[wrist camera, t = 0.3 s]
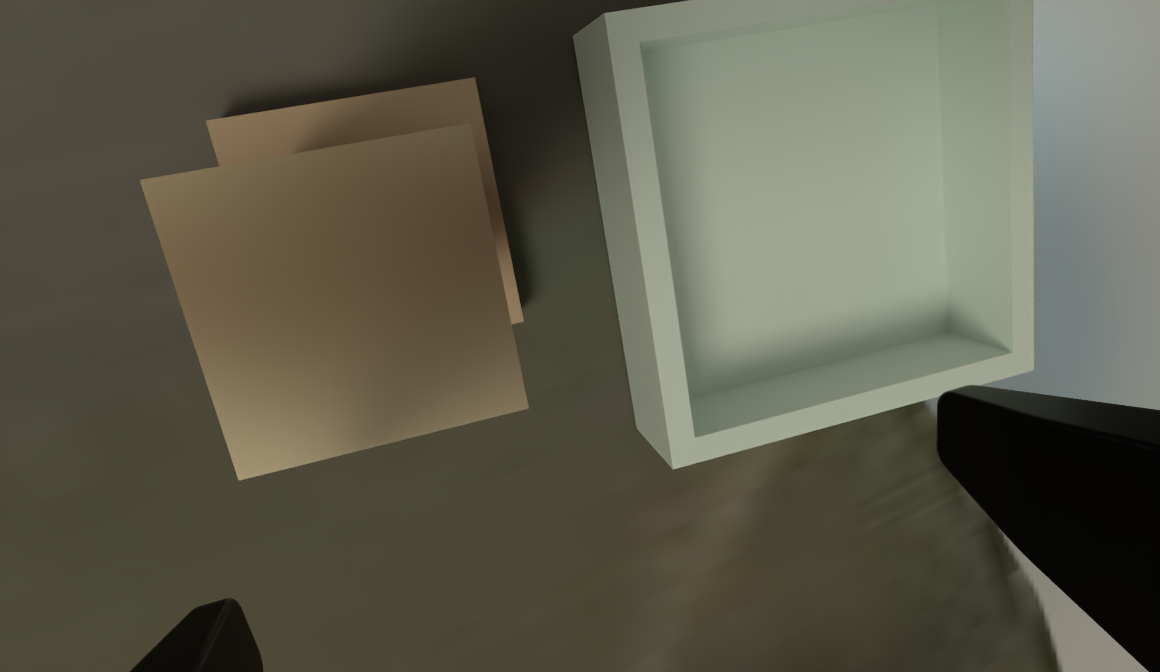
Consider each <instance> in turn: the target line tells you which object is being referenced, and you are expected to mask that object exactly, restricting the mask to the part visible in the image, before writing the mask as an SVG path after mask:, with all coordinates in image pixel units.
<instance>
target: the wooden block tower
mask: <svg viewBox="0 0 1160 672" xmlns="http://www.w3.org/2000/svg"><path fill="white" fill-rule="evenodd" d="M206 123H207V126H208V130H209V133H210V136H211V140H212V143H213V146H214V150H215V153H216V156H217V160H218V163H219V167H213V168H207V169H201V170H196V171H190V172H184V173H178V174H172V175H167V176H161V177H155V178H149V179H143V180H140V183H141V186H142V189H143V192H144V195H145V198H146V201H147V204H148V207H149V210H150V213H151V216H152V219H153V222H154V225H155V228H156V231H157V234H158V237H159V240H160V243H161V246H162V249H163V252H164V255H165V258H166V261H167V264H168V267H169V270H170V273H171V277H172V280H173V283H174V286H175V289H176V292H177V295H178V298H179V301H180V304H181V307H182V310H183V313H184V316H185V319H186V322H187V325H188V328H189V331H190V334H191V337H192V340H193V343H194V346H195V349H196V352H197V355H198V358H199V361H200V364H201V367H202V371H203V374H204V377H205V380H206V383H207V386H208V389H209V392H210V395H211V398H212V401H213V404H214V407H215V410H216V413H217V416H218V419H219V422H220V425H221V428H222V431H223V434H224V437H225V440H226V443H227V446H228V449H229V452H230V455H231V458H232V461H233V464H234V468H235V471H236V474H237V477H238V480H243V479H247V478H251V477H255V476H259V475H263V474H267V473H271V472H275V471H279V470H283V469H287V468H291V467H296V466H300V465H304V464H308V463H312V462H316V461H320V460H324V459H328V458H332V457H336V456H340V455H344V454H348V453H352V452H356V451H360V450H364V449H368V448H372V447H376V446H380V445H384V444H388V443H392V442H396V441H400V440H404V439H408V438H412V437H416V436H420V435H424V434H428V433H432V432H436V431H440V430H444V429H448V428H452V427H456V426H460V425H464V424H468V423H472V422H476V421H480V420H484V419H488V418H492V417H497V416H501V415H505V414H509V413H513V412H517V411H521V410H525V409H529V407H528V402H527V397H526V392H525V387H524V383H523V378H522V373H521V368H520V363H519V358H518V353H517V348H516V343H515V339H514V334H513V329H512V324H515V323H519V322H524V320H523V315H522V310H521V305H520V300H519V295H518V290H517V285H516V280H515V275H514V270H513V265H512V260H511V255H510V250H509V245H508V240H507V235H506V230H505V225H504V220H503V215H502V210H501V205H500V200H499V195H498V190H497V185H496V180H495V175H494V170H493V165H492V160H491V155H490V150H489V145H488V140H487V135H486V130H485V125H484V120H483V115H482V110H481V105H480V100H479V95H478V90H477V85H476V80H475V77H474V78H468V79H462V80H455V81H449V82H443V83H437V84H431V85H424V86H418V87H412V88H406V89H400V90H393V91H387V92H381V93H375V94H369V95H362V96H356V97H350V98H344V99H338V100H331V101H325V102H319V103H313V104H307V105H300V106H294V107H288V108H282V109H276V110H270V111H263V112H257V113H251V114H245V115H239V116H232V117H226V118H220V119H214V120H208V121H206Z"/></svg>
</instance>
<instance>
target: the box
mask: <svg viewBox="0 0 1160 672" xmlns="http://www.w3.org/2000/svg"><path fill="white" fill-rule="evenodd" d="M573 41H574V47H575V53H576V59H577V66H578V72H579V78H580V84H581V90H582V96H583V102H584V109H585V115H586V121H587V127H588V133H589V139H590V145H591V151H592V158H593V164H594V170H595V176H596V182H597V188H598V194H599V201H600V207H601V213H602V219H603V225H604V231H605V237H606V244H607V250H608V256H609V262H610V268H611V274H612V280H613V286H614V293H615V299H616V305H617V311H618V317H619V323H620V329H621V336H622V342H623V348H624V354H625V360H626V366H627V372H628V379H629V385H630V391H631V397H632V403H633V409H634V415H635V421H636V428H637V429H638V430H639V432H640V433H641V434H642V435H643V436H644V437H645V438H646V439H647V441H648V442H649V443H650V444H651V445H652V446H653V447H654V448H655V450H656V451H657V452H658V453H659V454H660V455H661V456H662V458H663V459H664V460H665V461H666V462H667V463H668V464H669V465H670V467H671V468H672V469H676V468H680V467H684V466H687V465H691V464H695V463H698V462H702V461H706V460H709V459H713V458H716V457H720V456H724V455H727V454H731V453H735V452H738V451H742V450H746V449H749V448H753V447H756V446H760V445H764V444H767V443H771V442H775V441H778V440H782V439H786V438H789V437H793V436H796V435H800V434H804V433H807V432H811V431H815V430H818V429H822V428H826V427H829V426H833V425H836V424H840V423H844V422H847V421H851V420H855V419H858V418H862V417H866V416H869V415H873V414H877V413H880V412H884V411H887V410H891V409H895V408H898V407H902V406H906V405H909V404H913V403H917V402H920V401H924V400H927V399H931V398H935V397H938V396H941V395H942V394H943V393H944V392H946V391H949V390H952V389H956V388H959V387H963V386H967V385H977V386H978V385H982V384H986V383H989V382H993V381H997V380H1000V379H1004V378H1007V377H1011V376H1015V375H1018V374H1022V373H1026V372H1029V371H1033V370H1034V239H1033V238H1034V231H1033V229H1034V228H1033V227H1034V224H1033V223H1034V222H1033V220H1034V213H1033V0H689V1H682V2H675V3H669V4H662V5H655V6H649V7H642V8H635V9H629V10H622V11H615V12H609V13H604V14H602V15H601V16H600V17H598V18H597V19H595V20H594V21H593V22H591V23H590V24H589V25H587V26H586V27H584V28H583V29H582V30H580V31H579V32H577V33H576V34H575V35H573Z"/></svg>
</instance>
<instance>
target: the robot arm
mask: <svg viewBox="0 0 1160 672" xmlns="http://www.w3.org/2000/svg"><path fill="white" fill-rule="evenodd" d="M936 445H937V452H938V455H939V458H940V460H941V461H942V463H943V465H944V466H945V467H946V468H947V470H948V471H949V472H950V473H951V474H952V475H953V476H954V477H955V479H956V480H957V481H958V482H959V483H960V484H961V485H962V486H963V488H964V489H965V490H966V491H967V492H968V493H969V494H970V495H971V497H972V498H973V499H974V500H975V501H976V502H977V503H978V504H979V506H980V507H981V508H982V509H983V510H984V511H985V512H986V513H987V515H988V516H989V517H990V518H991V519H992V520H993V521H994V522H995V524H996V525H997V526H998V527H999V528H1000V529H1001V530H1002V531H1003V533H1004V534H1005V535H1006V536H1007V537H1008V538H1009V539H1010V540H1011V541H1012V542H1013V543H1014V545H1015V546H1016V547H1017V548H1018V549H1019V550H1020V551H1021V552H1022V553H1023V554H1024V555H1025V556H1026V557H1027V558H1028V559H1029V560H1030V561H1031V562H1032V563H1033V564H1034V565H1035V566H1036V567H1037V568H1039V569H1040V570H1041V571H1042V572H1043V573H1044V574H1045V575H1046V576H1047V577H1048V578H1049V579H1050V580H1051V581H1052V582H1053V583H1055V584H1056V585H1057V586H1058V587H1059V588H1060V589H1061V590H1062V591H1063V592H1064V593H1065V594H1066V595H1067V596H1069V597H1070V598H1071V599H1072V600H1073V601H1074V602H1075V603H1076V604H1077V605H1078V606H1079V607H1080V608H1081V609H1082V610H1083V611H1085V612H1086V613H1087V614H1088V615H1089V616H1090V617H1091V618H1092V619H1093V620H1094V621H1095V622H1096V623H1097V624H1098V625H1099V626H1100V627H1102V628H1103V629H1104V630H1105V631H1106V632H1107V633H1108V634H1109V635H1110V636H1111V637H1112V638H1113V639H1115V640H1116V642H1118V643H1119V644H1120V645H1121V646H1122V647H1123V648H1124V649H1125V650H1126V651H1127V652H1128V653H1129V654H1130V655H1132V656H1133V657H1134V658H1135V659H1136V660H1137V661H1138V662H1139V663H1140V664H1141V665H1142V666H1143V667H1144V668H1145V669H1146V670H1148V671H1149V672H1160V410H1155V409H1147V408H1140V407H1132V406H1125V405H1118V404H1110V403H1103V402H1095V401H1088V400H1081V399H1073V398H1066V397H1058V396H1051V395H1043V394H1036V393H1029V392H1021V391H1014V390H1007V389H999V388H992V387H985V386H977V385H967V386H963V387H959V388H956V389H952V390H949V391H946V392H944V393H943V394H942V395H941V396H940V397H939V399H938V403H937V443H936ZM130 672H263V664H262V659H261V655H260V652H259V649H258V647H257V644H256V642H255V640H254V637H253V635H252V632H251V630H250V627H249V625H248V623H247V620H246V618H245V615H244V613H243V611H242V608H241V606H240V605H239V603H238V602H237V601H236V600H234V599H232V598H227V599H223V600H220V601H216V602H213V603H209V604H206V605H202V606H199V607H197V608H195V609H193V610H192V611H191V612H190V613H189V614H188V615H187V616H186V617H185V618H184V619H183V620H182V621H181V622H180V623H179V624H178V625H177V626H176V627H175V628H173V629H172V630H171V631H170V632H169V633H168V634H167V635H166V636H165V637H164V638H163V639H162V640H161V641H160V642H159V643H158V644H157V645H156V646H155V647H154V648H153V649H152V650H151V651H150V652H149V653H148V654H147V655H146V656H145V657H144V658H143V659H142V660H141V661H140V662H139V663H138V664H137V665H136V666H135V667H134V668H133V669H132V670H131V671H130Z"/></svg>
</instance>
